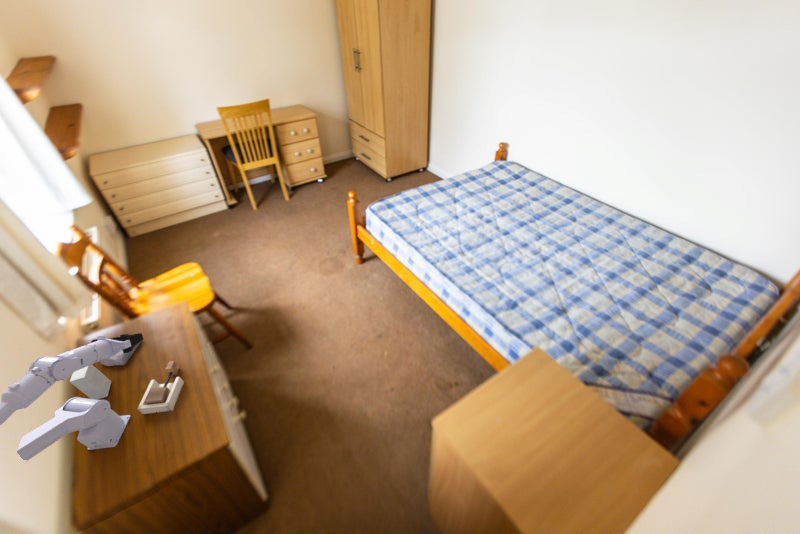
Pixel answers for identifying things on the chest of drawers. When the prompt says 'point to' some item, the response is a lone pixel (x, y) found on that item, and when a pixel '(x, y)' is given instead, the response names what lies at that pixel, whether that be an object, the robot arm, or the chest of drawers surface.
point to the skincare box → (91, 382)
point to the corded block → (162, 393)
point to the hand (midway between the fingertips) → (131, 338)
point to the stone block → (119, 358)
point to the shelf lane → (170, 401)
